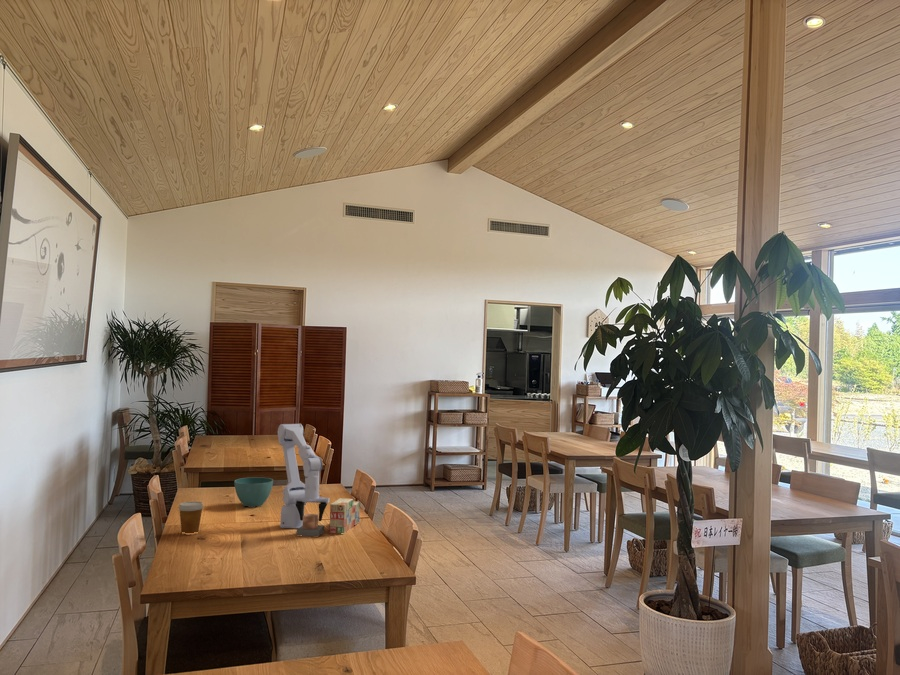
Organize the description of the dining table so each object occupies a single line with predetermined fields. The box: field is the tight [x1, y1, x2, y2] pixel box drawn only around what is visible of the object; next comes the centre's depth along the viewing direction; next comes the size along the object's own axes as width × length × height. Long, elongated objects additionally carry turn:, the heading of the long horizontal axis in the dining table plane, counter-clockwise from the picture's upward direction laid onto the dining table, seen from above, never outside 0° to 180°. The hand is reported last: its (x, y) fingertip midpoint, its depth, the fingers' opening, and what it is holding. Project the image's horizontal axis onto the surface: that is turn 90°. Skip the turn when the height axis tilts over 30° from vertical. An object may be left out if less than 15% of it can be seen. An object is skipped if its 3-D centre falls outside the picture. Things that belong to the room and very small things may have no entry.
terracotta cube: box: [303, 513, 319, 529], centre depth 274 cm, size 5×5×5 cm
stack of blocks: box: [329, 497, 360, 534], centre depth 285 cm, size 21×6×12 cm, turn 170°
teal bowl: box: [233, 476, 274, 508], centre depth 327 cm, size 18×18×12 cm
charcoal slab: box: [296, 524, 326, 537], centre depth 274 cm, size 9×9×3 cm
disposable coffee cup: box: [178, 501, 204, 533], centre depth 271 cm, size 10×10×12 cm
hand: (311, 520), depth 275 cm, fingers open, 7 cm apart
